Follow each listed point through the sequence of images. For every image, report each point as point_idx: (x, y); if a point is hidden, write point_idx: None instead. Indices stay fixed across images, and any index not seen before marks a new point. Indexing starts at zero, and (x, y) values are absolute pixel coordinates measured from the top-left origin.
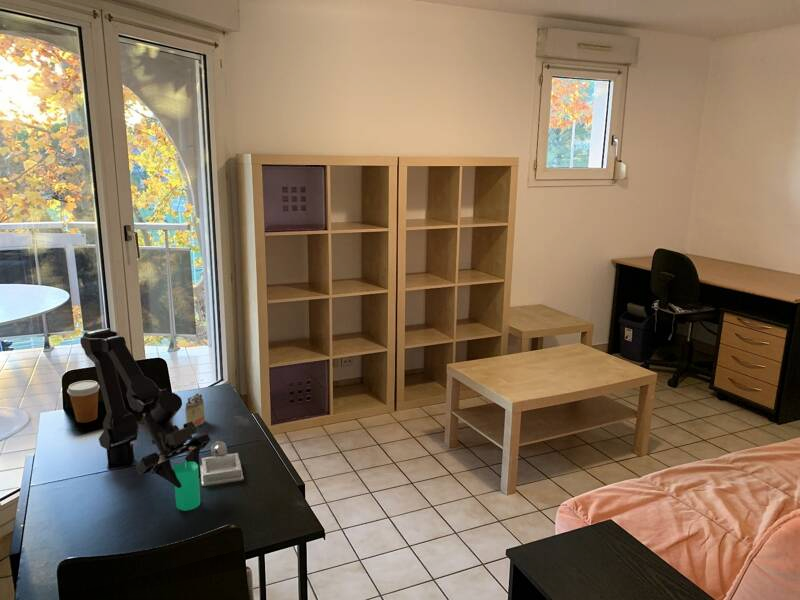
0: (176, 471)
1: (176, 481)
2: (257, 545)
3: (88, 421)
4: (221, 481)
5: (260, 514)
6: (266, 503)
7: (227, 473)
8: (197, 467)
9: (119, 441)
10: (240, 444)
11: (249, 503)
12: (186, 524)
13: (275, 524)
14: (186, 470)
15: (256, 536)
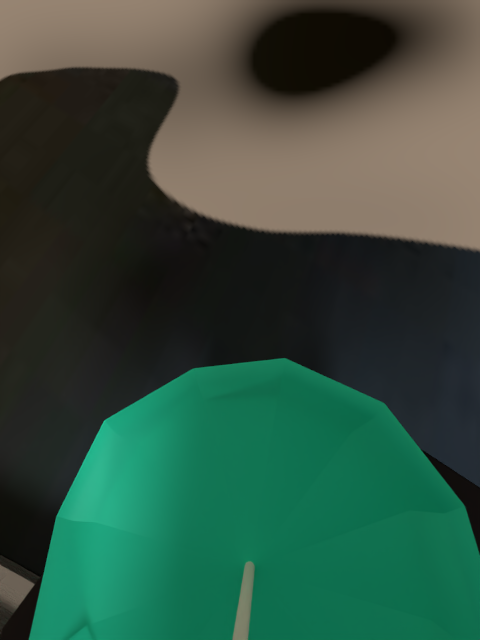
0: (448, 517)
1: None
2: (169, 77)
3: None
4: (11, 577)
5: (65, 203)
6: (2, 253)
7: None
8: (104, 420)
9: None
10: None
11: (46, 290)
12: (327, 295)
13: (67, 133)
14: (264, 486)
15: (148, 110)
